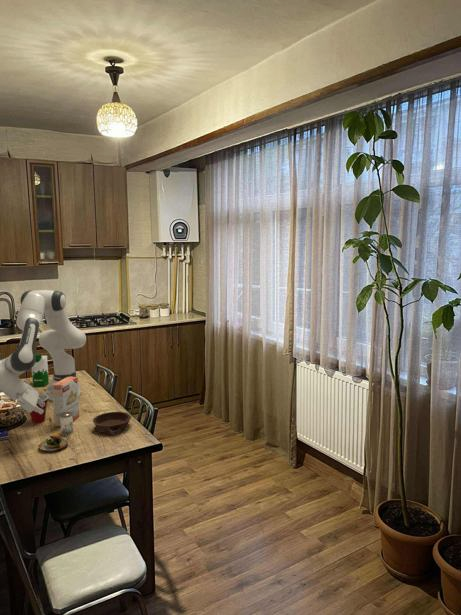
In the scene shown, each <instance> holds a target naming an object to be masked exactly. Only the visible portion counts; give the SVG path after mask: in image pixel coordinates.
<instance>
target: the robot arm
mask: <svg viewBox="0 0 461 615" xmlns="http://www.w3.org/2000/svg"><path fill="white" fill-rule="evenodd" d="M66 304H67V297H66V295H65V294H64V292H63V291H60V290H51V289H49V290H48V289H41V290H39V289H37V290H26V291H24V292H23V293H22V294H21V297H20V306H19V309H18V312H17V315H16V322H15V323H16V326H17V327H18V329H20V330H21V331H22V332H21V337H20V341H19V345H18V346H17V348H16V349H15V350H14V351H13V352H12V353H11V354H10V355H9V356H7V357H5V358H3V359H1V360H0V391H1V392H2V393H3V394H4V395H5V396H6V397H8V398H9V399H11V400H12V401H13V402H16V401H17V404H18V405H19V406H20V407H21V408H23V409H24V410H25V411H26V412H28V413H29V414H30V413H31V412H32V411H35V412H38V413H40V414H42V413H43V412H44V410H43V409H40V408H39V407H38V406H37V405H36V404H37V403H38V404H39V405H40V406H41V407H44V406H45V403H44V402H43V401H42V400H41V399H40V398H39V397H38V396H39V394H40V393H39V392H38V391H37V390H36V389H35V387H33V385H30V384H29V382H28V381H27V380H25V379H21V378H20V377H19V376H20V375H22V374H23V373H25V372H27V371H28V370H30V369H32V367H33V366H34V364H35V361H36V355H35V354H36V349H35V348H36V343H37V338H38V343H39V345H40V346H41V347H42V348H43V349H44V350H45V351H47V352H48V354H49V355H50V357H51V360H52V361H53V362H52V363H53V370H54V372H53V373H52V375H53V376H52V377H53V378H52V380H51V381H50V382H49V383H48V384H47V387H46V390H47V391H45V392H43V394H46V395H48V399H47V400H49V401H52V402H53V389H52V385H53V384H55V383H57V382H59V381H61V380H63V379H64V378H66V377H77V371H76V367H75V366H76V364H75V362H76V361H75V358H74V357H73V356H72V355H71V354H69V353H67V352H66V351H65V350H74V349H79V348H83V347H84V346H85V344H86V343H87V337H86V333H85V332H84V331H83V330H81V329H79V328H77V327H76V326H75V325H74V324H73V323H72V322H71V320H70V319H69V316H68V314H67V313H68V312H67V309H66ZM43 318H45V321H46V325H47V326H48V327H49V328H50V329H48V330H43V331H41V333H40V334H39V335H38V333H39V329H40V327H41V323H42V321H43ZM38 336H39V337H38ZM79 383H80V382H79V381H78V395H79V396H80V394H82V392H83V391H82V390H80V384H79Z"/></svg>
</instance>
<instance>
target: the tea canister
mask: <svg viewBox="0 0 461 615" xmlns="http://www.w3.org/2000/svg"><path fill="white" fill-rule="evenodd" d="M72 415H73V413H72V412H63V413H61V414H60V424H61V427H60V434H61V435H63V436H64V435H65V436H67V435H71V434H73V433H74V421H73V417H72Z"/></svg>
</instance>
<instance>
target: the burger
mask: <svg viewBox="0 0 461 615" xmlns="http://www.w3.org/2000/svg"><path fill="white" fill-rule="evenodd" d="M68 447H69V442H68V440H67V439H65V438H62V437H61V435H60V434H59V433H57V432H56V433H53V434H50V435H49V438H46V439H45V440H43V442H40V443H39V444H38V449H40V450H42V451H45V452H54V451H57V450H59V451H60V452H63V451H64V450H65V449H66V448H68Z"/></svg>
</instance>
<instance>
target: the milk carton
mask: <svg viewBox="0 0 461 615" xmlns="http://www.w3.org/2000/svg"><path fill="white" fill-rule="evenodd" d="M35 355H36V361H35V364H34V366H33V367H32V368H31V379H32V387H33V388H41V387H42V388H44V387H46V386H48V384H49V383H50V382H49V380H50V379H49V366H48V355H42V354H41V353H35Z"/></svg>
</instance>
